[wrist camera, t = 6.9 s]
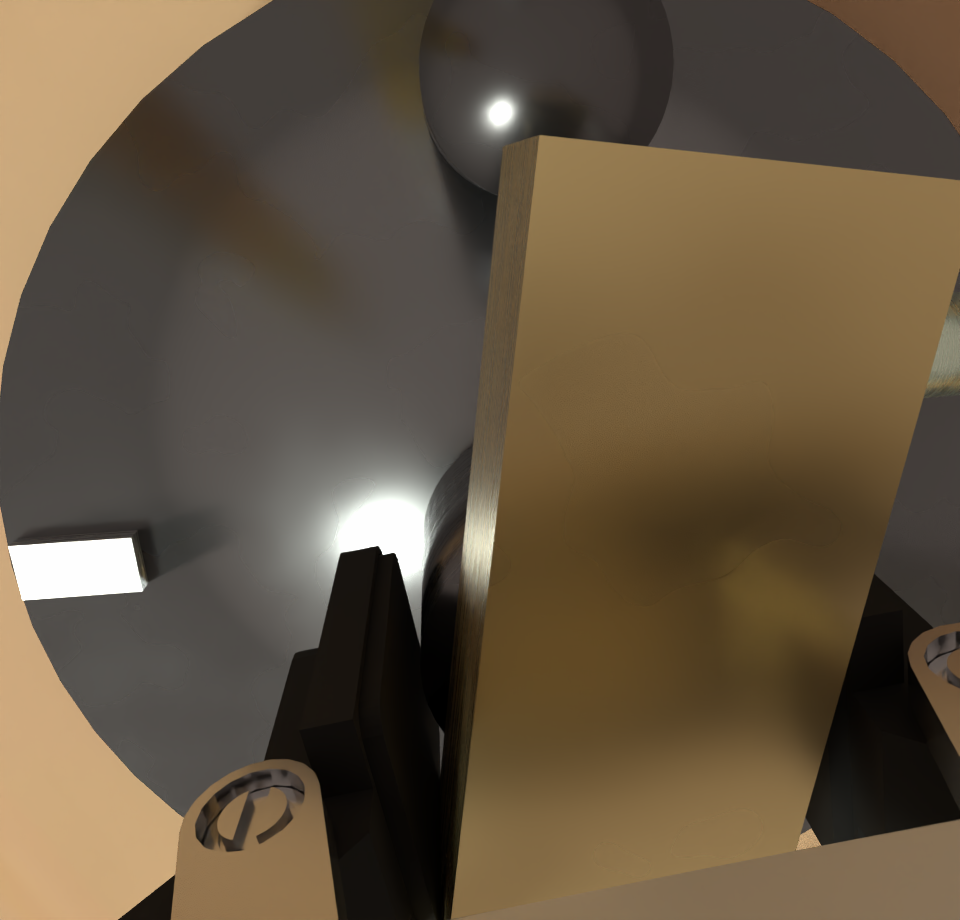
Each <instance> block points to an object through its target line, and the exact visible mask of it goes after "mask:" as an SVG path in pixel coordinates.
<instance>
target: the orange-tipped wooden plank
mask: <svg viewBox="0 0 960 920" xmlns="http://www.w3.org/2000/svg"><path fill="white" fill-rule="evenodd" d="M959 270H960V180H952V179H943V178H934V177H925V176H915V175H906V174H897V173H887V172H878V171H869V170H860V169H850V168H841V167H832V166H823V165H813V164H804V163H795V162H785V161H776V160H767V159H758V158H748V157H739V156H730V155H720V154H711V153H702V152H693V151H683V150H674V149H665V148H656V147H646V146H637V145H628V144H618V143H609V142H600V141H591V140H581V139H572V138H563V137H553V136H544V135H538V136H535V137H531V138H528V139H525V140H522V141H518V142H515V143H512V144H509V145H506V146H503V150H502V160H501V170H500V180H499V190H498V200H497V210H496V220H495V230H494V240H493V250H492V260H491V270H490V280H489V290H488V300H487V310H486V320H485V330H484V340H483V351H482V361H481V371H480V381H479V391H478V401H477V411H476V421H475V431H474V441H473V447H471V448H470V449H468V450H467V451H466V452H464V453H463V454H462V455H461V456H460V457H459V458H458V459H457V460H456V461H455V462H453V464H452V465H451V466H450V467H449V468H448V470H447V471H446V472H445V473H444V474H443V476H442V478H441V479H440V481H439V482H438V484H437V485H436V487H435V489H434V491H433V493H432V496H431V498H430V500H429V503H428V506H427V510H426V513H425V518H424V525H423V552H422V601H421V649H420V672H421V679H422V686H423V690H424V694H425V697H426V700H427V704H428V706H429V708H430V710H431V712H432V714H433V717H434V719H435V721H436V722H437V724H438V725H439V727H440V728H441V730H442V731H443V732H444V742H443V752H442V762H441V773H440V818H441V881H442V920H449V919H454V918H459V917H464V916H469V915H474V914H479V913H484V912H489V911H494V910H499V909H504V908H509V907H514V906H519V905H524V904H529V903H535V902H540V901H545V900H550V899H555V898H560V897H565V896H570V895H575V894H580V893H585V892H590V891H595V890H600V889H605V888H610V887H615V886H620V885H625V884H630V883H635V882H640V881H645V880H650V879H655V878H660V877H665V876H670V875H675V874H680V873H685V872H690V871H695V870H700V869H705V868H710V867H715V866H720V865H726V864H731V863H736V862H741V861H746V860H751V859H756V858H761V857H766V856H772V855H777V854H782V853H787V852H792V851H796V848H797V845H798V841H799V837H800V834H801V830H802V827H803V823H804V820H805V816H806V813H807V809H808V806H809V802H810V798H811V795H812V791H813V788H814V784H815V781H816V777H817V774H818V770H819V766H820V763H821V759H822V756H823V752H824V749H825V745H826V742H827V738H828V735H829V731H830V727H831V724H832V720H833V717H834V713H835V710H836V706H837V703H838V699H839V696H840V692H841V688H842V685H843V681H844V678H845V674H846V671H847V667H848V664H849V660H850V657H851V653H852V649H853V646H854V642H855V639H856V635H857V632H858V628H859V625H860V621H861V617H862V614H863V610H864V607H865V603H866V600H867V596H868V593H869V589H870V586H871V582H872V578H873V575H874V571H875V568H876V564H877V561H878V557H879V554H880V550H881V547H882V543H883V539H884V536H885V532H886V529H887V525H888V522H889V518H890V515H891V511H892V507H893V504H894V500H895V497H896V493H897V490H898V486H899V483H900V479H901V476H902V472H903V468H904V465H905V461H906V458H907V454H908V451H909V447H910V444H911V440H912V437H913V433H914V429H915V426H916V422H917V419H918V415H919V412H920V408H921V405H922V401H923V398H924V394H925V390H926V387H927V383H928V380H929V376H930V373H931V369H932V366H933V362H934V358H935V355H936V351H937V348H938V344H939V341H940V337H941V334H942V330H943V327H944V323H945V319H946V316H947V312H948V309H949V305H950V302H951V298H952V295H953V291H954V288H955V284H956V280H957V277H958V273H959Z"/></svg>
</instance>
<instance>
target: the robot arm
mask: <svg viewBox="0 0 960 920" xmlns="http://www.w3.org/2000/svg"><path fill="white" fill-rule="evenodd" d="M420 649H421V647H420V643H419V639H418V636H417V632H416V628H415V624H414V620H413V616H412V612H411V608H410V604H409V600H408V596H407V592H406V588H405V585H404V581H403V577H402V573H401V569H400V565H399V561H398V558H397V555H396V553H395V552H393V553H388V554H384V555H383V553H382V550H381V548H380V547H379V546H373V547H368V548H363V549H358V550H353V551H348V552H343V553H341V554H340V556H339V560H338V565H337V569H336V573H335V578H334V582H333V586H332V591H331V595H330V599H329V603H328V608H327V612H326V616H325V621H324V625H323V629H322V634H321V638H320V642H319V646H318V648H314V649H309V650H304V651H299V652H297V653H295V654H294V657H293V659H292V662H291V665H290V669H289V673H288V676H287V680H286V683H285V687H284V690H283V694H282V698H281V701H280V705H279V708H278V712H277V715H276V719H275V723H274V726H273V730H272V733H271V737H270V740H269V744H268V748H267V751H266V755H265V758H264V761H262V762H258V763H254V764H250V765H247V766H245V767H243V768H240V769H238V770H236V771H234V772H231V773H229V774H228V775H226V776H225V777H223V778H222V779H220V780H219V781H217V782H216V783H214V784H212V785H211V786H210V787H209V788H208V789H207V790H206V791H205V792H204V793H203V794H201V795H200V796H199V797H198V798H197V799H196V800H195V802H194V803H193V804H192V806H191V807H190V809H189V810H188V812H187V813H186V815H185V816H184V819H183V823H182V826H181V829H180V832H179V842H178V852H177V862H176V872H175V875H174V876H173V877H172V878H170V879H169V880H168V881H167V882H165V883H164V884H163V885H161V886H160V887H159V888H158V889H156V890H155V891H154V892H153V893H151V894H150V895H149V896H148V897H146V898H145V899H144V900H142V901H141V902H140V903H139V904H137V905H136V906H135V907H134V908H132V909H131V910H130V911H129V912H127V913H126V914H125V915H123V916H122V917H121V918H120V919H118V920H442V881H441V818H440V731H439V725H438V724H437V722H436V721H435V719H434V717H433V714H432V712H431V710H430V708H429V706H428V704H427V700H426V697H425V694H424V690H423V686H422V679H421V672H420ZM805 818H806V819H807V821H808V823H809V825H810V826H811V828H812V830H813V832H814V833H815V835H816V837H817V839H818V840H819V842H820V844H821V845H822V846H818V847H812V848H807V849H802V850H797V851H792V852H787V853H782V854H777V855H772V856H766V857H761V858H756V859H751V860H746V861H741V862H736V863H731V864H726V865H720V866H715V867H710V868H705V869H700V870H695V871H690V872H685V873H680V874H675V875H670V876H665V877H660V878H655V879H650V880H645V881H640V882H635V883H630V884H625V885H620V886H615V887H610V888H605V889H600V890H595V891H590V892H585V893H580V894H575V895H570V896H565V897H560V898H555V899H550V900H545V901H540V902H535V903H529V904H524V905H519V906H514V907H509V908H504V909H499V910H494V911H489V912H484V913H479V914H474V915H469V916H464V917H459V918H454V919H449V920H960V623H954V624H948V625H942V626H938V627H936V628H933V627H932V626H931V625H930V624H929V623H928V622H927V621H926V620H925V619H923V618H922V617H921V616H920V615H919V614H918V613H917V612H916V611H915V610H914V609H913V608H911V607H910V606H909V605H908V604H907V603H906V602H905V601H904V600H903V599H902V598H900V597H899V596H898V595H897V594H896V593H895V592H894V591H893V590H892V589H891V588H890V587H888V586H887V585H886V584H885V583H884V582H883V581H882V580H881V579H880V578H879V577H877V576H876V575H875V574H874V575H873V578H872V582H871V586H870V589H869V593H868V596H867V600H866V603H865V607H864V610H863V614H862V617H861V621H860V625H859V628H858V632H857V635H856V639H855V642H854V646H853V649H852V653H851V657H850V660H849V664H848V667H847V671H846V674H845V678H844V681H843V685H842V688H841V692H840V696H839V699H838V703H837V706H836V710H835V713H834V717H833V720H832V724H831V727H830V731H829V735H828V738H827V742H826V745H825V749H824V752H823V756H822V759H821V763H820V766H819V770H818V774H817V777H816V781H815V784H814V788H813V791H812V795H811V798H810V802H809V806H808V809H807V813H806V816H805Z"/></svg>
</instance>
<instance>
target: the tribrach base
mask: <svg viewBox="0 0 960 920" xmlns="http://www.w3.org/2000/svg"><path fill="white" fill-rule="evenodd" d="M538 135H544V136H553V137H563V138H572V139H581V140H591V141H600V142H609V143H618V144H628V145H637V146H646V147H656V148H665V149H674V150H683V151H693V152H702V153H711V154H720V155H730V156H739V157H748V158H758V159H767V160H776V161H785V162H795V163H804V164H813V165H823V166H832V167H841V168H850V169H860V170H869V171H878V172H887V173H897V174H906V175H915V176H925V177H934V178H943V179H952V180H960V135H959V134H958V132H957V131H956V130H955V128H954V127H953V125H952V124H951V122H950V121H949V119H948V118H947V117H946V115H945V114H944V113H943V112H942V111H941V110H940V109H939V108H938V107H937V106H936V105H935V103H934V102H933V101H932V100H931V99H930V98H929V97H928V96H927V95H926V94H925V93H924V92H923V91H922V90H921V89H920V88H919V87H918V86H917V85H916V84H915V83H914V82H913V80H912V79H911V78H910V77H909V76H908V75H907V74H906V73H905V72H904V71H903V70H902V69H901V68H900V67H899V66H898V65H897V64H896V63H895V62H894V61H893V60H892V59H891V58H889V57H888V56H887V55H885V54H884V53H883V52H881V51H880V50H879V49H878V48H876V47H875V46H874V45H872V44H871V43H870V42H868V41H867V40H866V39H864V38H863V37H862V36H860V35H859V34H858V33H857V32H855V31H854V30H853V29H851V28H850V27H849V26H847V25H846V24H845V23H843V22H842V21H841V20H839V19H838V18H837V17H836V16H834V15H833V14H831V13H829V12H828V11H826V10H824V9H822V8H820V7H818V6H816V5H815V4H813V3H811V2H809V1H807V0H273V1H272V2H270V3H268V4H267V5H265V6H264V7H262V8H261V9H259V10H258V11H256V12H254V13H253V14H251V15H250V16H248V17H247V18H245V19H244V20H242V21H240V22H239V23H237V24H236V25H234V26H233V27H231V28H230V29H228V30H226V31H225V32H223V33H222V34H220V35H219V36H217V37H216V38H214V39H212V40H211V41H209V42H208V43H206V44H205V45H203V46H202V47H201V48H200V49H199V50H198V51H196V52H195V53H194V54H193V55H192V56H191V57H190V58H189V59H187V60H186V61H185V62H184V63H183V64H182V65H181V66H179V67H178V68H177V69H176V70H175V71H174V72H173V73H171V74H170V75H169V76H168V77H167V78H166V79H165V80H163V81H162V82H161V83H160V84H159V85H158V86H157V87H156V88H154V89H153V90H152V91H151V92H150V93H149V94H148V95H146V96H145V97H144V98H143V99H142V100H141V101H140V102H139V104H138V105H137V106H136V107H135V108H134V109H133V111H132V112H131V113H130V114H129V115H128V117H127V118H126V119H125V120H124V121H123V123H122V124H121V125H120V126H119V127H118V129H117V130H116V131H115V132H114V133H113V134H112V136H111V137H110V138H109V139H108V140H107V142H106V143H105V144H104V145H103V146H102V148H101V149H100V150H99V151H98V152H97V153H96V155H95V156H94V157H93V158H92V159H91V161H90V162H89V164H88V166H87V167H86V169H85V170H84V172H83V174H82V175H81V177H80V179H79V180H78V182H77V184H76V185H75V187H74V188H73V190H72V192H71V193H70V195H69V197H68V198H67V200H66V201H65V203H64V205H63V206H62V208H61V210H60V211H59V213H58V215H57V216H56V218H55V219H54V221H53V223H52V224H51V226H50V228H49V230H48V233H47V235H46V238H45V240H44V242H43V245H42V247H41V249H40V252H39V254H38V257H37V259H36V261H35V264H34V266H33V268H32V271H31V273H30V276H29V278H28V280H27V283H26V285H25V287H24V290H23V292H22V295H21V298H20V302H19V306H18V310H17V314H16V318H15V321H14V325H13V329H12V333H11V337H10V341H9V345H8V349H7V353H6V357H5V361H4V365H3V374H2V384H1V394H0V507H1V512H2V517H3V523H4V528H5V533H6V538H7V543H8V548H9V553H10V559H11V564H12V568H13V571H14V574H15V576H16V579H17V582H18V585H19V588H20V592H21V596H22V599H23V600H24V603H25V605H26V608H27V611H28V614H29V617H30V620H31V623H32V626H33V628H34V630H35V632H36V634H37V636H38V638H39V640H40V642H41V644H42V646H43V648H44V650H45V651H46V653H47V655H48V657H49V659H50V661H51V663H52V665H53V667H54V669H55V671H56V673H57V675H58V677H59V679H60V681H61V683H62V684H63V685H64V687H65V688H66V690H67V691H68V693H69V694H70V696H71V697H72V699H73V700H74V701H75V703H76V704H77V706H78V707H79V709H80V710H81V712H82V713H83V715H84V716H85V717H86V719H87V720H88V722H89V723H90V725H91V726H92V728H93V729H94V731H95V732H96V733H97V734H98V735H99V736H100V737H101V739H102V740H103V741H104V742H105V743H106V744H107V745H108V746H109V748H110V749H111V750H112V751H113V752H114V753H115V754H116V755H117V756H118V758H119V759H120V760H121V761H122V762H123V763H124V764H125V765H126V766H127V768H128V769H129V770H130V771H131V772H132V773H133V774H134V775H135V776H136V777H137V778H138V779H139V780H140V781H141V782H143V783H144V784H145V785H146V786H147V787H148V788H149V789H151V790H152V791H153V792H154V793H155V794H156V795H157V796H159V797H160V798H161V799H162V800H163V801H164V802H165V803H167V804H168V805H169V806H170V807H171V808H172V809H174V810H175V811H176V812H177V813H178V814H179V815H181V816H182V817H184V816H185V815H186V813H187V812H188V810H189V809H190V807H191V806H192V804H193V803H194V802H195V800H196V799H197V798H198V797H199V796H200V795H201V794H203V793H204V792H205V791H206V790H207V789H208V788H209V787H210V786H211V785H212V784H214V783H216V782H217V781H219V780H220V779H222V778H223V777H225V776H226V775H228V774H229V773H231V772H234V771H236V770H238V769H240V768H243V767H245V766H247V765H250V764H254V763H258V762H262V761H264V758H265V755H266V751H267V748H268V744H269V740H270V737H271V733H272V730H273V726H274V723H275V719H276V715H277V712H278V708H279V705H280V701H281V698H282V694H283V690H284V687H285V683H286V680H287V676H288V673H289V669H290V665H291V662H292V659H293V657H294V654H295V653H297V652H299V651H304V650H309V649H314V648H318V646H319V642H320V638H321V634H322V629H323V625H324V621H325V616H326V612H327V608H328V603H329V599H330V595H331V591H332V586H333V582H334V578H335V573H336V569H337V565H338V560H339V556H340V554H341V553H343V552H348V551H353V550H358V549H363V548H368V547H373V546H379V547H380V548H381V550H382V553H383V555H384V554H388V553H393V552H395V553H396V555H397V558H398V561H399V565H400V569H401V573H402V577H403V581H404V585H405V588H406V592H407V596H408V600H409V604H410V608H411V612H412V616H413V620H414V624H415V628H416V632H417V636H418V639H419V643H420V647H421V601H422V552H423V525H424V518H425V513H426V510H427V506H428V503H429V500H430V498H431V496H432V493H433V491H434V489H435V487H436V485H437V484H438V482H439V481H440V479H441V478H442V476H443V474H444V473H445V472H446V471H447V470H448V468H449V467H450V466H451V465H452V464H453V462H455V461H456V460H457V459H458V458H459V457H460V456H461V455H462V454H463V453H464V452H466V451H467V450H468V449H470V448H471V447H473V441H474V431H475V421H476V411H477V401H478V391H479V381H480V371H481V361H482V351H483V340H484V330H485V320H486V310H487V300H488V290H489V280H490V270H491V260H492V250H493V240H494V230H495V220H496V210H497V200H498V190H499V180H500V170H501V160H502V150H503V146H506V145H509V144H512V143H515V142H518V141H522V140H525V139H528V138H531V137H535V136H538ZM874 574H875V575H876V576H877V577H879V578H880V579H881V580H882V581H883V582H884V583H885V584H886V585H887V586H888V587H890V588H891V589H892V590H893V591H894V592H895V593H896V594H897V595H898V596H899V597H900V598H902V599H903V600H904V601H905V602H906V603H907V604H908V605H909V606H910V607H911V608H913V609H914V610H915V611H916V612H917V613H918V614H919V615H920V616H921V617H922V618H923V619H925V620H926V621H927V622H928V623H929V624H930V625H931V626H932V627H933V628H936V627H938V626H942V625H948V624H954V623H960V270H959V273H958V277H957V280H956V284H955V288H954V291H953V295H952V298H951V302H950V305H949V309H948V312H947V316H946V319H945V323H944V327H943V330H942V334H941V337H940V341H939V344H938V348H937V351H936V355H935V358H934V362H933V366H932V369H931V373H930V376H929V380H928V383H927V387H926V390H925V394H924V398H923V401H922V405H921V408H920V412H919V415H918V419H917V422H916V426H915V429H914V433H913V437H912V440H911V444H910V447H909V451H908V454H907V458H906V461H905V465H904V468H903V472H902V476H901V479H900V483H899V486H898V490H897V493H896V497H895V500H894V504H893V507H892V511H891V515H890V518H889V522H888V525H887V529H886V532H885V536H884V539H883V543H882V547H881V550H880V554H879V557H878V561H877V564H876V568H875V571H874ZM439 731H440V773H441V762H442V752H443V742H444V732H443V731H442V730H441V728H440V727H439ZM809 829H811V826H810V825H809V823H808V821H807V819H806V818H805V820H804V823H803V827H802V830H801V834H802V833H804V832H806V831H807V830H809ZM801 834H800V835H801Z"/></svg>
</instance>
